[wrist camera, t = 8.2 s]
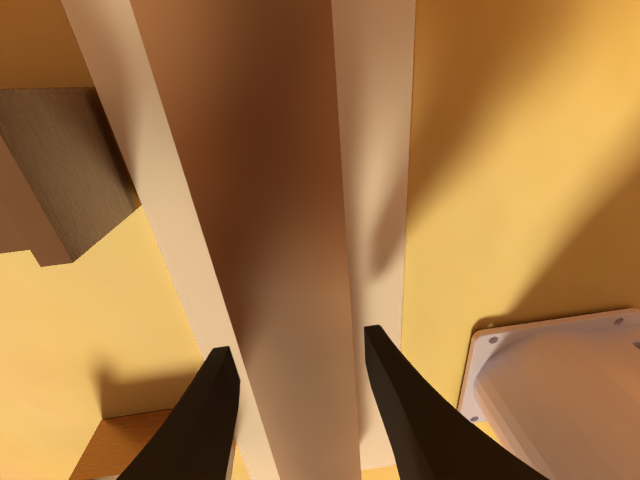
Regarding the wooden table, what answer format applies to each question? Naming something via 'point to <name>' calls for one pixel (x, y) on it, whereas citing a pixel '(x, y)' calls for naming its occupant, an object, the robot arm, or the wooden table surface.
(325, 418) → the rail
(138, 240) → the wooden table surface
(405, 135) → the felt pad
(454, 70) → the wooden table surface
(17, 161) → the post
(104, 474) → the post
